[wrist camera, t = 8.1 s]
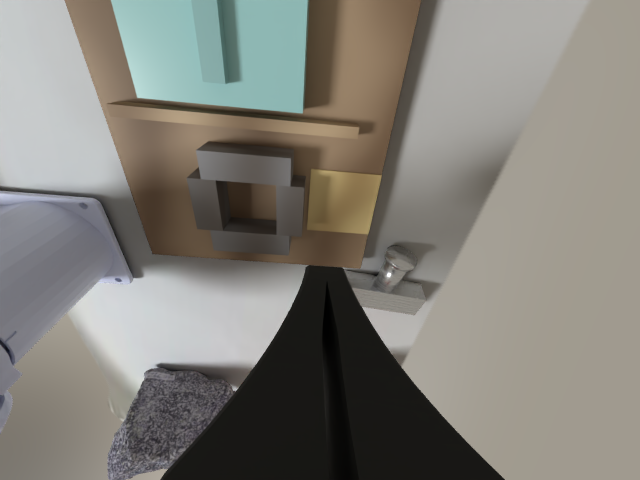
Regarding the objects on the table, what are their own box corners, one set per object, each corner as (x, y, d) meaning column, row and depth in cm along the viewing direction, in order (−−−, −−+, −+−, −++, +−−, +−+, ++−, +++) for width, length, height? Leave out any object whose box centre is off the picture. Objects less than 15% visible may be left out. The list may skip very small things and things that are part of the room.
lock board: (160, 244, 21) (139, 269, 19) (20, -198, 10) (-84, -287, 7) (358, 259, 22) (363, 284, 19) (444, -138, 10) (483, -200, 8)
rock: (147, 381, 33) (89, 487, 25) (139, 357, 30) (71, 469, 22) (242, 391, 35) (217, 495, 26) (244, 369, 32) (216, 479, 23)
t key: (356, 237, 21) (337, 283, 24) (359, 259, 19) (338, 305, 22) (438, 253, 21) (409, 295, 25) (449, 275, 20) (415, 318, 23)
